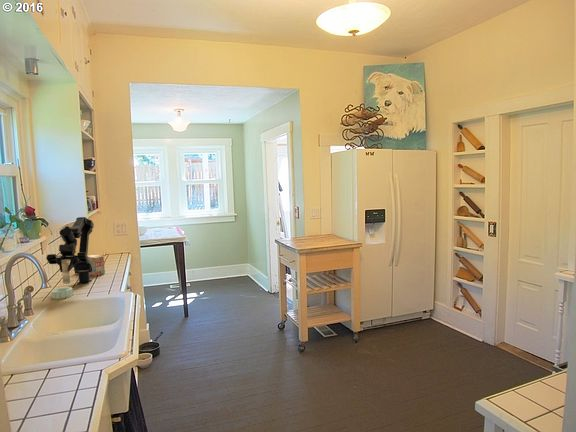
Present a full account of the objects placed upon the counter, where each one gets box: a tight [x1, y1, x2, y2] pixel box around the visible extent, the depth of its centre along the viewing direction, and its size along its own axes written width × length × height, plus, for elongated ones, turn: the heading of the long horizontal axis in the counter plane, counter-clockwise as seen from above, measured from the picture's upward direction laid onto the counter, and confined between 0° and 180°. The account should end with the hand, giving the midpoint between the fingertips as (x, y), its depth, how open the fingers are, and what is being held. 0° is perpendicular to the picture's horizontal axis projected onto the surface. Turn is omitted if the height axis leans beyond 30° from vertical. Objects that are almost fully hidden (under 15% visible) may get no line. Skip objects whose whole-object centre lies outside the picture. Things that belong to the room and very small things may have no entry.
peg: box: [61, 259, 71, 285], centre depth 199 cm, size 3×3×12 cm
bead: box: [51, 286, 74, 300], centre depth 200 cm, size 9×9×4 cm
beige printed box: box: [87, 254, 106, 277], centre depth 254 cm, size 21×6×12 cm, turn 60°
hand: (64, 271), depth 198 cm, fingers closed on peg, 3 cm apart
